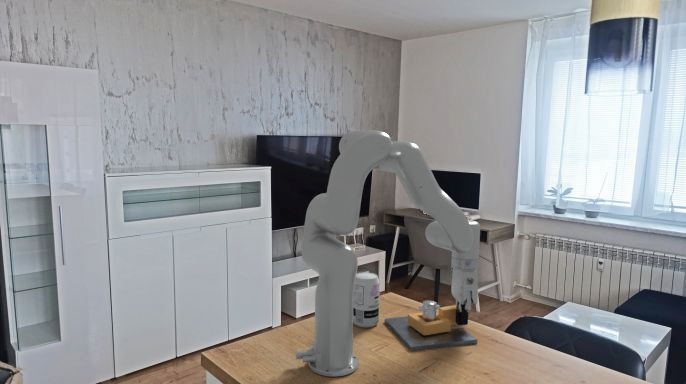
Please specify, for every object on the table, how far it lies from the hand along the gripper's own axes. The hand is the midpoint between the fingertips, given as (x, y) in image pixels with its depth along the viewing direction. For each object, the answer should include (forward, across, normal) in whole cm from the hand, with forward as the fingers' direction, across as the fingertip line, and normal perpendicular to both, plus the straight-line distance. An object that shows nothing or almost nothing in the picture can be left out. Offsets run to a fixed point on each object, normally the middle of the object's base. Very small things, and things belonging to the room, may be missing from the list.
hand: (461, 323), depth 136 cm
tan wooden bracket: (+1, +2, +5) cm, 6 cm away
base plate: (+3, +1, +10) cm, 10 cm away
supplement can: (+3, +9, +27) cm, 29 cm away
